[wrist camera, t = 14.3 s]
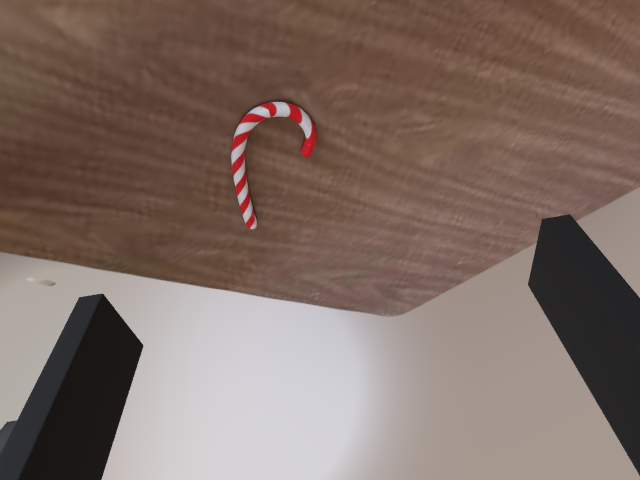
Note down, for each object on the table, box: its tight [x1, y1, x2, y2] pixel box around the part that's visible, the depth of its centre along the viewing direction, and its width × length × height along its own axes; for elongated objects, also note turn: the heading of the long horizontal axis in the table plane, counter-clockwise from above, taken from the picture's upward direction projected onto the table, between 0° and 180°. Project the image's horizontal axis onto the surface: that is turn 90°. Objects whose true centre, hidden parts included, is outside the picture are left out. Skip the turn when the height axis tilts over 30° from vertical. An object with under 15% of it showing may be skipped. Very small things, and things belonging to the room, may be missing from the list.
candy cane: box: [231, 102, 317, 229], centre depth 42 cm, size 8×1×15 cm
